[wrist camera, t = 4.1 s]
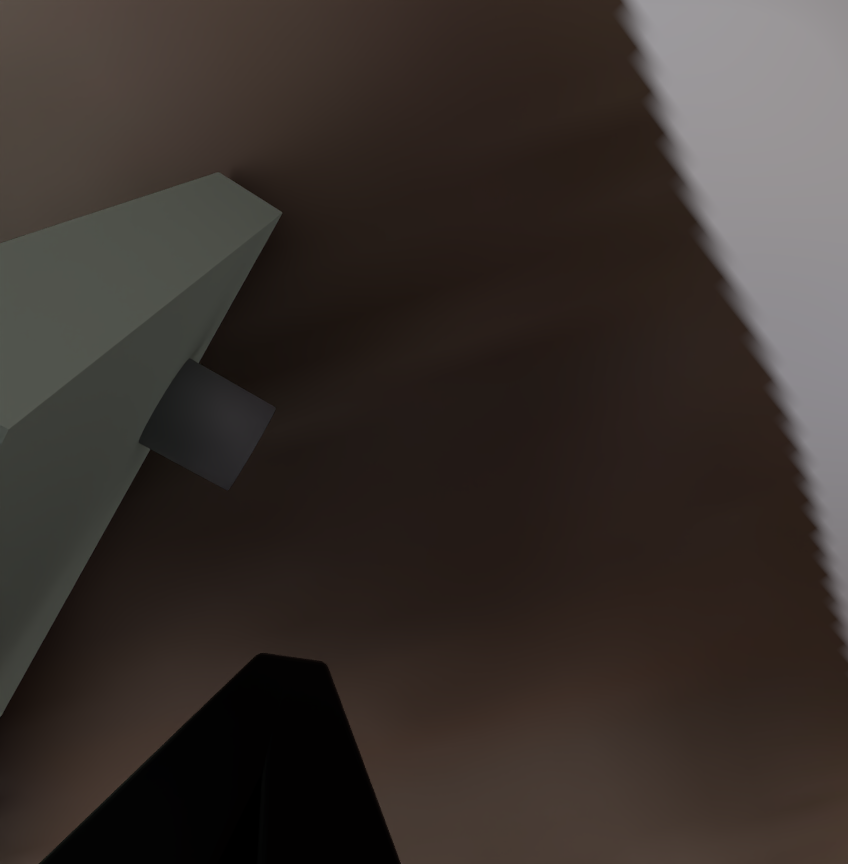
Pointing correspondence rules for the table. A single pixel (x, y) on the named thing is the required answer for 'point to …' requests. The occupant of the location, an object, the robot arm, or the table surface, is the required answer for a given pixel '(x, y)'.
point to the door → (112, 380)
